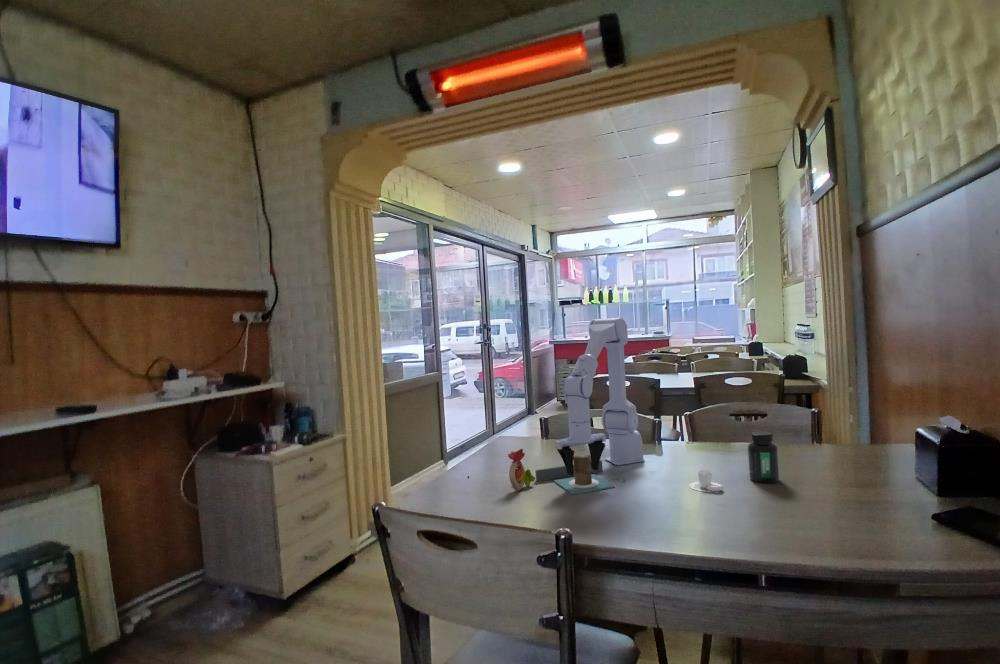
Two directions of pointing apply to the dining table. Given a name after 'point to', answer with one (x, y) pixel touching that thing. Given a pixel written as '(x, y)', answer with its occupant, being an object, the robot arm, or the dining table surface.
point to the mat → (577, 489)
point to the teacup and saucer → (706, 482)
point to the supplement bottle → (763, 458)
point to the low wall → (558, 472)
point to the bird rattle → (519, 471)
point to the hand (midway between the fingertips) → (582, 471)
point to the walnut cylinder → (582, 469)
